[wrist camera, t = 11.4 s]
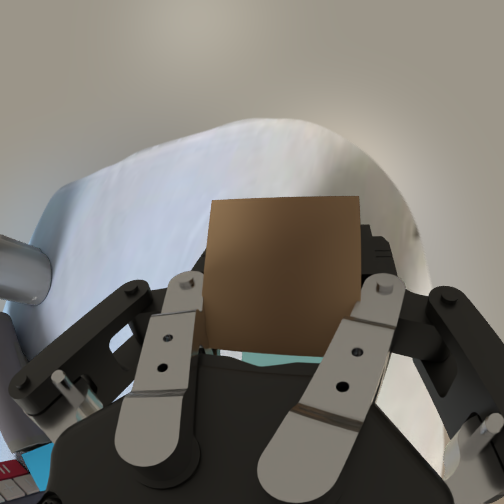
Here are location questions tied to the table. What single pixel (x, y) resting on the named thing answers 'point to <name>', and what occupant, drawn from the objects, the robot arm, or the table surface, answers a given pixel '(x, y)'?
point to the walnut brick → (281, 273)
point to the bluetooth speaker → (3, 406)
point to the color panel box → (17, 485)
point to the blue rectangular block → (39, 464)
